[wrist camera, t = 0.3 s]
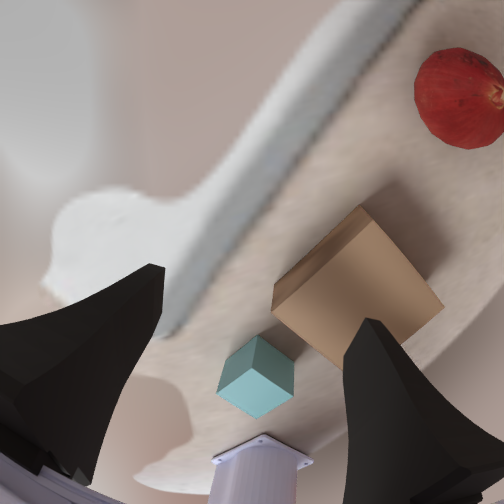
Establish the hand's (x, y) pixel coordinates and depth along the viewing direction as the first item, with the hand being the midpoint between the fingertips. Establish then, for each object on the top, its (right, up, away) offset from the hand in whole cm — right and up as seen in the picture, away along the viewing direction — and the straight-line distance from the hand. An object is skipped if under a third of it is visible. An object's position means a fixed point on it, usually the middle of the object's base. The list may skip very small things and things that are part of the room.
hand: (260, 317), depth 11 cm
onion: (+12, +12, +5) cm, 18 cm away
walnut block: (+7, 0, +11) cm, 13 cm away
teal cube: (0, -7, +14) cm, 16 cm away
